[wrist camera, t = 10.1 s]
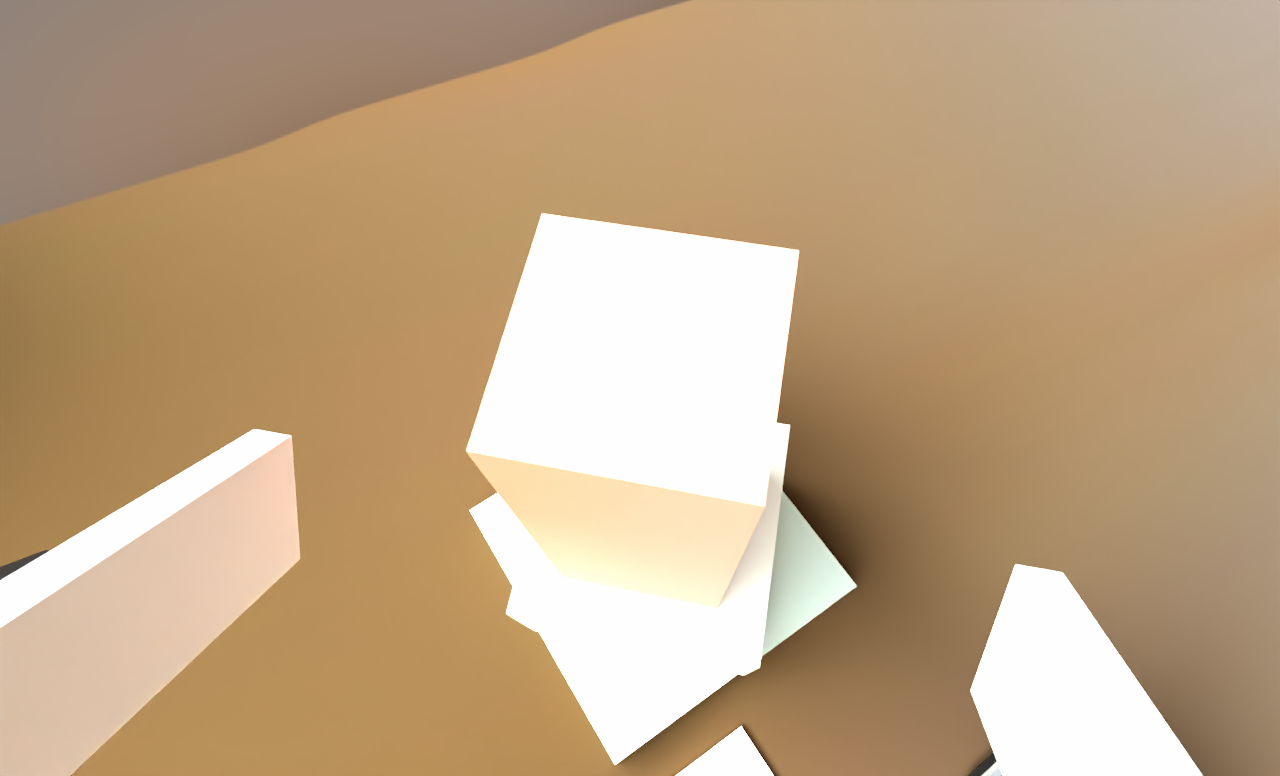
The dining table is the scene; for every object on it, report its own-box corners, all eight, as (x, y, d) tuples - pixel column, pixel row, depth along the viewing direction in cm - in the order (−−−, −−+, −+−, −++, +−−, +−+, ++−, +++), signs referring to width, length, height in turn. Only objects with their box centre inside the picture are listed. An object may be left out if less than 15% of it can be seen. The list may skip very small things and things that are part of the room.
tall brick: (562, 577, 23) (465, 451, 12) (597, 433, 25) (542, 213, 14) (717, 608, 22) (765, 506, 11) (740, 459, 24) (799, 250, 13)
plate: (476, 517, 30) (469, 510, 29) (689, 384, 32) (690, 372, 31) (617, 763, 26) (614, 765, 25) (850, 591, 28) (857, 586, 27)
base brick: (532, 630, 27) (505, 613, 22) (582, 435, 30) (567, 386, 26) (743, 675, 26) (759, 667, 21) (771, 469, 29) (790, 424, 25)
